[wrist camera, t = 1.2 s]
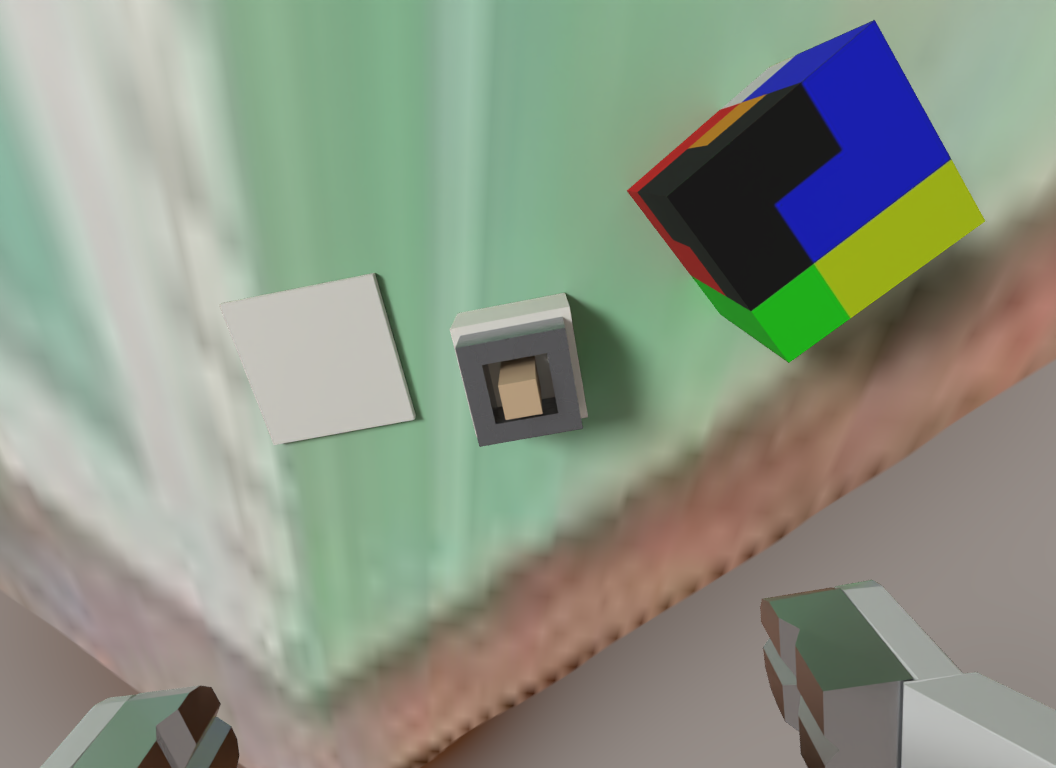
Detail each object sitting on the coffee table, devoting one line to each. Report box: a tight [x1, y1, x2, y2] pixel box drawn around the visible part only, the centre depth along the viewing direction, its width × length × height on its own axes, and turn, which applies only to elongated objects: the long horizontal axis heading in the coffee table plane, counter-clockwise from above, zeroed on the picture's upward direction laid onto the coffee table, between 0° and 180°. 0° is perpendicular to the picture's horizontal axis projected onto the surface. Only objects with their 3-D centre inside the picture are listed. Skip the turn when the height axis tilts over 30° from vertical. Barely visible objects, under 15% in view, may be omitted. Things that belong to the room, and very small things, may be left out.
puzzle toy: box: [627, 20, 985, 363], centre depth 29 cm, size 10×10×10 cm
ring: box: [455, 317, 583, 447], centre depth 32 cm, size 6×6×2 cm
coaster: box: [219, 273, 416, 445], centre depth 37 cm, size 10×10×1 cm
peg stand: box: [450, 293, 588, 437], centre depth 33 cm, size 7×7×8 cm
